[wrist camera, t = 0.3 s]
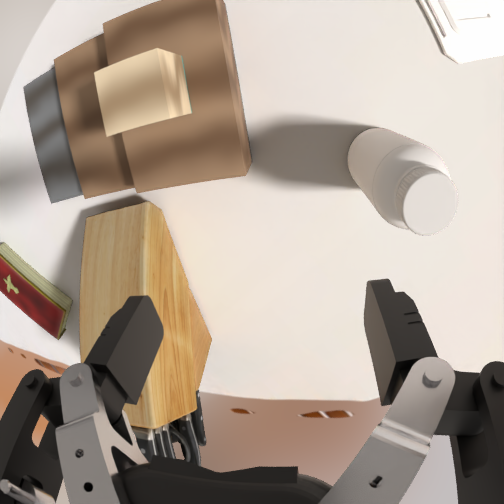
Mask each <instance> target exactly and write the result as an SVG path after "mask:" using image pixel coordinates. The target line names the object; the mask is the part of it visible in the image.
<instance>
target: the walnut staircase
mask: <svg viewBox="0 0 504 504" xmlns="http://www.w3.org/2000/svg"><path fill="white" fill-rule="evenodd" d="M103 30H104V33H103V34H101V35H99V36H97V37H95V38H93V39H91V40H89V41H87V42H85V43H83V44H81V45H79V46H77V47H75V48H73V49H72V50H70V51H68V52H66V53H64V54H63V55H61V56H59V57H58V58H56V59H54V63H55V67H54V68H52V69H51V70H49V71H47V72H46V73H44V74H43V75H41V76H40V77H38V78H36V79H35V80H33V81H32V82H30V83H29V84H27V85H26V86H24V94H25V100H26V106H27V112H28V117H29V122H30V127H31V132H32V136H33V141H34V145H35V149H36V153H37V157H38V161H39V164H40V168H41V172H42V175H43V178H44V182H45V185H46V188H47V192H48V195H49V198H50V201H51V204H52V203H55V202H59V201H62V200H66V199H69V198H73V197H77V196H80V195H84V198H85V199H87V198H91V197H95V196H99V195H103V194H108V193H112V192H117V191H121V190H126V189H130V188H136V192H137V193H141V192H146V191H152V190H157V189H162V188H168V187H174V186H180V185H186V184H192V183H198V182H205V181H211V180H218V179H225V178H233V177H240V176H246V174H247V172H248V169H249V167H250V165H251V163H252V157H251V151H250V145H249V139H248V133H247V127H246V121H245V114H244V108H243V102H242V97H241V91H240V85H239V79H238V73H237V67H236V61H235V56H234V50H233V44H232V39H231V33H230V28H229V22H228V16H227V11H226V5H225V3H224V1H223V0H160V1H157V2H154V3H152V4H149V5H146V6H143V7H141V8H138V9H136V10H133V11H131V12H128V13H126V14H123V15H121V16H119V17H116V18H114V19H112V20H110V21H108V22H105V23H103ZM156 48H159V49H162V50H165V51H168V52H172V53H175V54H178V55H181V56H182V59H183V65H184V71H185V76H186V82H187V87H188V93H189V98H190V103H191V109H192V113H191V114H187V115H183V116H178V117H174V118H170V119H166V120H162V121H159V122H155V123H151V124H147V125H144V126H140V127H137V128H133V129H130V130H127V131H123V132H120V133H117V134H114V135H111V136H108V137H107V136H106V132H105V127H104V123H103V118H102V113H101V108H100V103H99V98H98V93H97V87H96V81H95V75H94V72H96V71H98V70H101V69H103V68H105V67H108V66H110V65H112V64H115V63H117V62H120V61H122V60H125V59H127V58H130V57H133V56H135V55H138V54H141V53H144V52H147V51H150V50H153V49H156Z"/></svg>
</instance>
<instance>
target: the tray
mask: <svg viewBox="0 0 504 504" xmlns="http://www.w3.org/2000/svg"><path fill="white" fill-rule="evenodd" d="M419 2H420V4H421V6H422V8H423V10H424V11H425V13H426V15H427V17H428V19H429V21H430V23H431V25H432V27H433V29H434V31H435V34H436V36H437V38H438V40H439V42H440V45H441V47H442V49H443V52H444V54H445V55H446V56H448V57H449V58H450V59H452V60H453V61H455V62H456V63H457V64H460V63H465V62H470V61H474V60H480V59H485V58H491V57H496V56H503V55H504V0H427V2H428V4H429V6H430V8H431V9H432V11H433V13H434V15H435V17H436V19H437V21H438V23H439V25H440V27H441V29H442V32H443V34H444V37H443V36H442V34H441V32H440V30H439V28H438V26H437V24H436V22H435V20H434V18H433V16H432V14H431V12H430V10H429V8H428V6H427V4H426V3H425V1H424V0H419Z"/></svg>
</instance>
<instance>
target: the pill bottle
mask: <svg viewBox="0 0 504 504" xmlns="http://www.w3.org/2000/svg"><path fill="white" fill-rule="evenodd" d="M347 161H348V168H349V171H350V174H351V176H352V178H353V179H354V181H355V182H356V183H357V185H358V186H359V187H360V189H361V190H362V191H363V192H364V194H365V195H366V196H367V198H368V199H369V200H370V202H371V203H372V204H373V206H374V207H375V209H376V210H377V211H378V213H379V214H380V215H381V216H382V217H383V218H384V219H385V220H386V221H387V222H388V223H390V224H392V225H394V226H396V227H398V228H402V229H409V230H411V231H412V232H414V233H415V234H418V235H422V236H429V235H434V234H437V233H439V232H441V231H442V230H444V229H445V228H446V227H447V226H448V225H449V224H450V223H451V222H452V220H453V218H454V217H455V214H456V212H457V208H458V192H457V188H456V186H455V185H454V183H453V181H452V180H451V178H450V174H449V171H448V168H447V166H446V164H445V162H444V161H443V159H442V158H441V156H440V155H439V154H438V153H437V152H436V151H434V150H433V149H432V148H430V147H428V146H426V145H424V144H422V143H420V142H417V141H415V140H413V139H410V138H408V137H406V136H403V135H401V134H398V133H396V132H394V131H391V130H388V129H384V128H372V129H368V130H366V131H364V132H362V133H361V134H359V135H358V136H357V137H356V138H355V139H354V141H353V142H352V144H351V146H350V148H349V151H348V158H347Z"/></svg>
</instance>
